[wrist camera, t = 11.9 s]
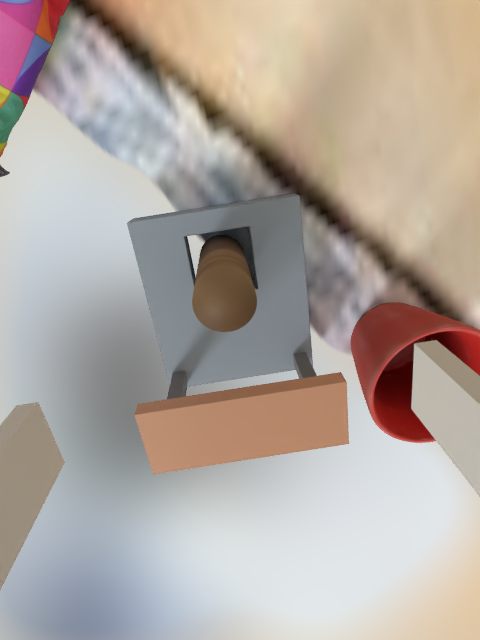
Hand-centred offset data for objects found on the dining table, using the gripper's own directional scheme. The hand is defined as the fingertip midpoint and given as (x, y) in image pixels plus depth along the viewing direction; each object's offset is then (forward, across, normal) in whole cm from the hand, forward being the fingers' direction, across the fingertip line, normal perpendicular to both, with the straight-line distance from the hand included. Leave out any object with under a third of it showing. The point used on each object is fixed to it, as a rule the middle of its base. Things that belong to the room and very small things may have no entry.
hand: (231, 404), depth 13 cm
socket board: (+23, 0, -4) cm, 23 cm away
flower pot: (+23, +15, -11) cm, 30 cm away
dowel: (+23, 0, 0) cm, 23 cm away
